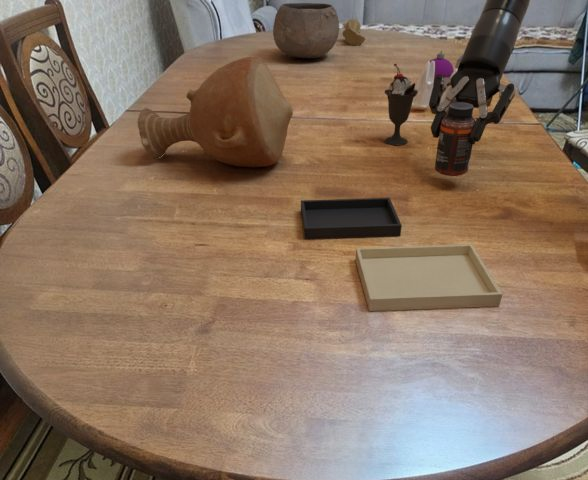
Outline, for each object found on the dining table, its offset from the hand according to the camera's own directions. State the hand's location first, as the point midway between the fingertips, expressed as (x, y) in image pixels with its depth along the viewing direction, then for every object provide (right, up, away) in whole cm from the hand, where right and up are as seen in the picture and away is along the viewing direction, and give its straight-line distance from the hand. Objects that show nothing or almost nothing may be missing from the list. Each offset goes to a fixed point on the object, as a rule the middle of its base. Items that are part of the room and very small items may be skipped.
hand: (453, 138), depth 94 cm
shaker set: (+7, +22, +40) cm, 46 cm away
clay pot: (-23, +59, +84) cm, 105 cm away
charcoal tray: (-18, -16, -5) cm, 25 cm away
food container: (+16, +26, +44) cm, 54 cm away
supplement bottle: (+1, -4, +5) cm, 7 cm away
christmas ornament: (+11, +33, +53) cm, 64 cm away
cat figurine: (-6, +73, +101) cm, 125 cm away
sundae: (-5, +9, +24) cm, 26 cm away
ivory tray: (-9, -27, -18) cm, 34 cm away
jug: (-42, +2, +17) cm, 45 cm away
